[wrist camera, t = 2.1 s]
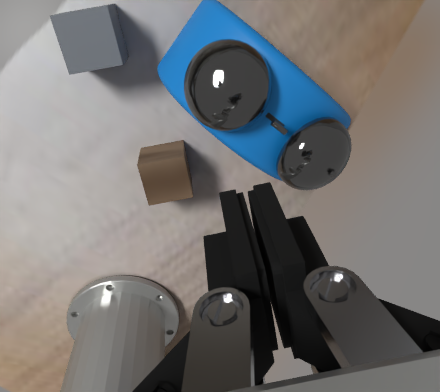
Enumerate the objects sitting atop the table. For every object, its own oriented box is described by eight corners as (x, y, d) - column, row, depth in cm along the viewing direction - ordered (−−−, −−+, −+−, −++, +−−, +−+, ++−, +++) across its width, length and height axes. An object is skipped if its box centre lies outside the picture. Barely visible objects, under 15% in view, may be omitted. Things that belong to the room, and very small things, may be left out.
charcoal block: (128, 56, 32) (122, 65, 29) (81, 65, 32) (69, 74, 29) (115, 3, 30) (107, 5, 27) (64, 12, 30) (49, 15, 27)
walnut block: (191, 177, 38) (193, 197, 34) (151, 185, 38) (148, 205, 34) (183, 139, 36) (184, 156, 33) (140, 147, 36) (137, 165, 32)
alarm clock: (316, 92, 35) (400, 155, 22) (271, 144, 37) (324, 231, 24) (201, -9, 30) (221, -5, 17) (156, 57, 32) (144, 105, 19)
